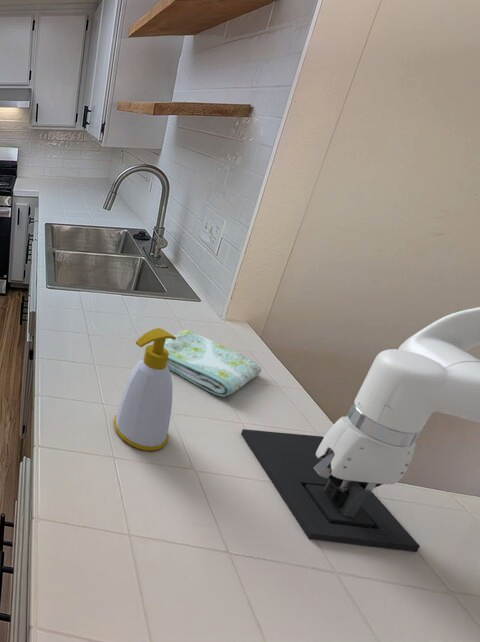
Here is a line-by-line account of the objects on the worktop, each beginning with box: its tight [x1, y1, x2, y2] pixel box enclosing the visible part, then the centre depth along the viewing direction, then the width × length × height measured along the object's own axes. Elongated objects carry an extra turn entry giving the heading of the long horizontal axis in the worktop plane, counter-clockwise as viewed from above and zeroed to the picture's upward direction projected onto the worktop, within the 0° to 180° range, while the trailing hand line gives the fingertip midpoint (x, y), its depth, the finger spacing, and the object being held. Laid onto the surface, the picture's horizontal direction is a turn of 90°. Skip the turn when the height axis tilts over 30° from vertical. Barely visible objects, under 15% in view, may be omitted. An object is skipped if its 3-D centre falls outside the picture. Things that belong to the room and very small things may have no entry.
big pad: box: [240, 428, 421, 553], centre depth 73 cm, size 16×22×2 cm
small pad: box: [304, 479, 374, 528], centre depth 67 cm, size 7×7×7 cm
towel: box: [164, 329, 262, 397], centre depth 105 cm, size 18×21×5 cm
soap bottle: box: [113, 327, 176, 452], centre depth 81 cm, size 11×12×26 cm
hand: (339, 500), depth 68 cm, fingers closed on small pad, 1 cm apart
